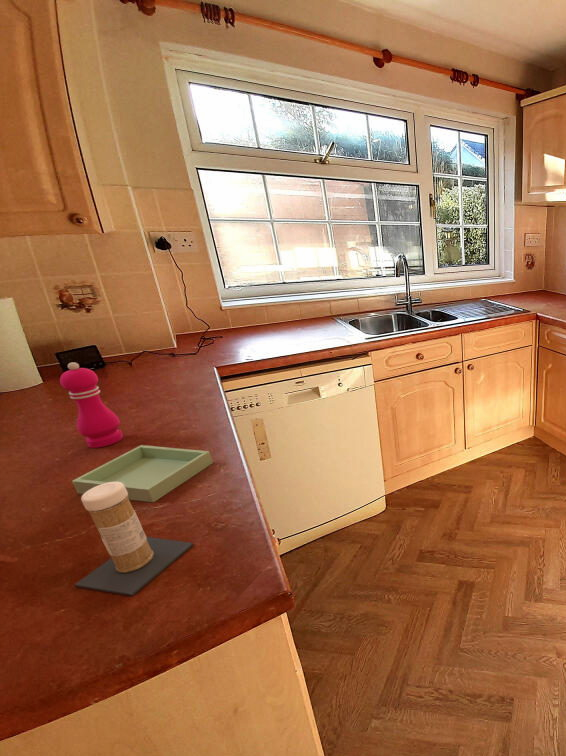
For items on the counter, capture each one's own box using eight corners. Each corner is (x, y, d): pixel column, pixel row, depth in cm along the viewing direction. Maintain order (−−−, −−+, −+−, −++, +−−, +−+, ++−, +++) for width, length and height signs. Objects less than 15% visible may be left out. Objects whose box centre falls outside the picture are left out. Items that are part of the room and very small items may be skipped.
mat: (75, 586, 61) (74, 584, 61) (142, 537, 70) (141, 536, 70) (132, 596, 59) (131, 594, 59) (193, 544, 68) (193, 542, 68)
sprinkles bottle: (125, 555, 66) (91, 484, 61) (160, 548, 67) (129, 477, 62) (110, 578, 62) (72, 503, 57) (147, 569, 63) (113, 495, 58)
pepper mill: (81, 443, 100) (45, 364, 92) (120, 431, 105) (88, 355, 98) (90, 452, 96) (52, 370, 89) (130, 439, 102) (98, 360, 94)
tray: (77, 493, 82) (71, 480, 81) (145, 456, 94) (141, 444, 93) (153, 502, 79) (148, 489, 78) (213, 462, 91) (209, 451, 90)
